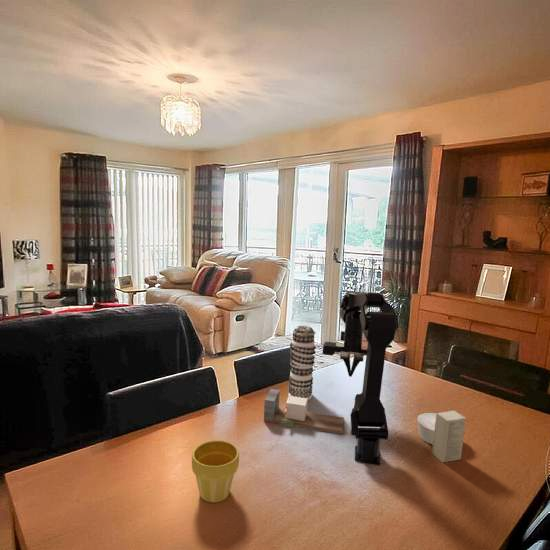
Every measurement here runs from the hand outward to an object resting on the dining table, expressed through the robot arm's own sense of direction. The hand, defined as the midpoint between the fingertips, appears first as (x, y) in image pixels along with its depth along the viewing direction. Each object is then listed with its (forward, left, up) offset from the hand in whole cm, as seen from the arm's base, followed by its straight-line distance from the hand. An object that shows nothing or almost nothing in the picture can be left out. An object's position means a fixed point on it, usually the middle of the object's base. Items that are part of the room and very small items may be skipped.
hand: (350, 376), depth 125 cm
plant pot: (-48, +28, -12) cm, 57 cm away
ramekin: (-9, -26, -12) cm, 30 cm away
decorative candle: (+6, +17, -12) cm, 22 cm away
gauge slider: (-12, +16, -11) cm, 23 cm away
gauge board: (-11, +13, -12) cm, 21 cm away
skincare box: (-18, -27, -12) cm, 35 cm away
